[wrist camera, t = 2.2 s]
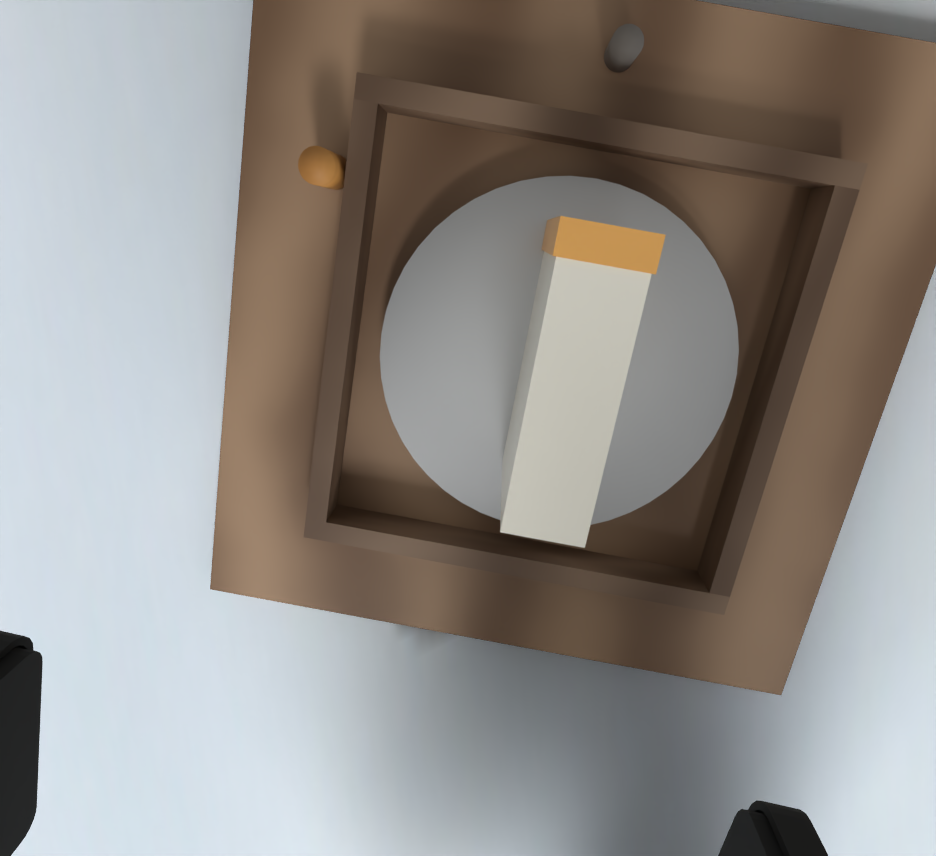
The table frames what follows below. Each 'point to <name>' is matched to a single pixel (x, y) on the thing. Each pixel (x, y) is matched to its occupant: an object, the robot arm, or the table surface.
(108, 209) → the table surface
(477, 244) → the dial
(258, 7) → the dial board
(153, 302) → the table surface
